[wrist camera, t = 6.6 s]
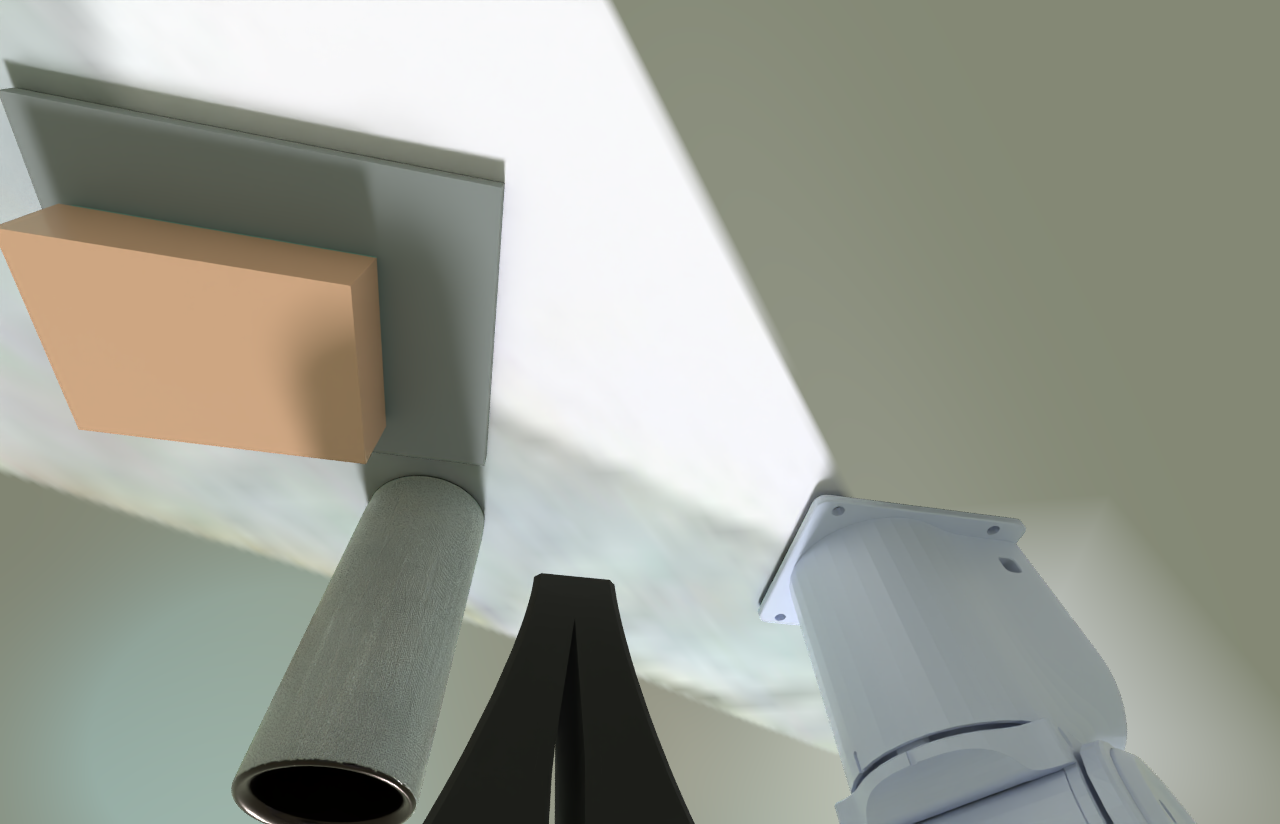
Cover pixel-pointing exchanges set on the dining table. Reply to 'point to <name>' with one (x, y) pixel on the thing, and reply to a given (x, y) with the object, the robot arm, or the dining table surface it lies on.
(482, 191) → the mat
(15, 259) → the tile
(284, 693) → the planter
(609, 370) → the dining table surface
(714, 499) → the dining table surface
